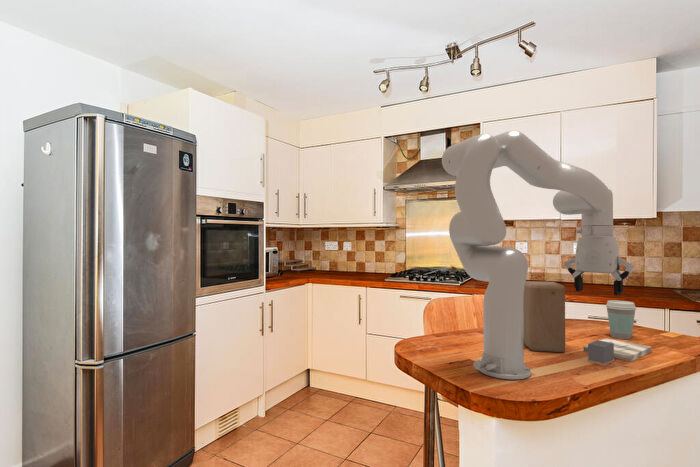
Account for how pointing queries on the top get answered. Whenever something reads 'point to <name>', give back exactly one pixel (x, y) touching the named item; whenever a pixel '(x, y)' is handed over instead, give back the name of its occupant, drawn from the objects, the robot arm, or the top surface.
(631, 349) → the board
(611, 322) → the coffee cup
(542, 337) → the wooden block
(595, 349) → the block
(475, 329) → the top surface
